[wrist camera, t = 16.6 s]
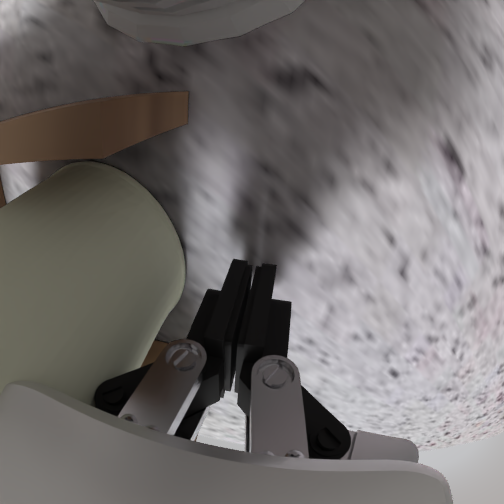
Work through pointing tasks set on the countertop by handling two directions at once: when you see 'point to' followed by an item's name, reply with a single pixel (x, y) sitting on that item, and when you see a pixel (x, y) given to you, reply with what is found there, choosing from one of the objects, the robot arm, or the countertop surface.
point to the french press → (191, 18)
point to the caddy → (92, 135)
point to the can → (84, 279)
